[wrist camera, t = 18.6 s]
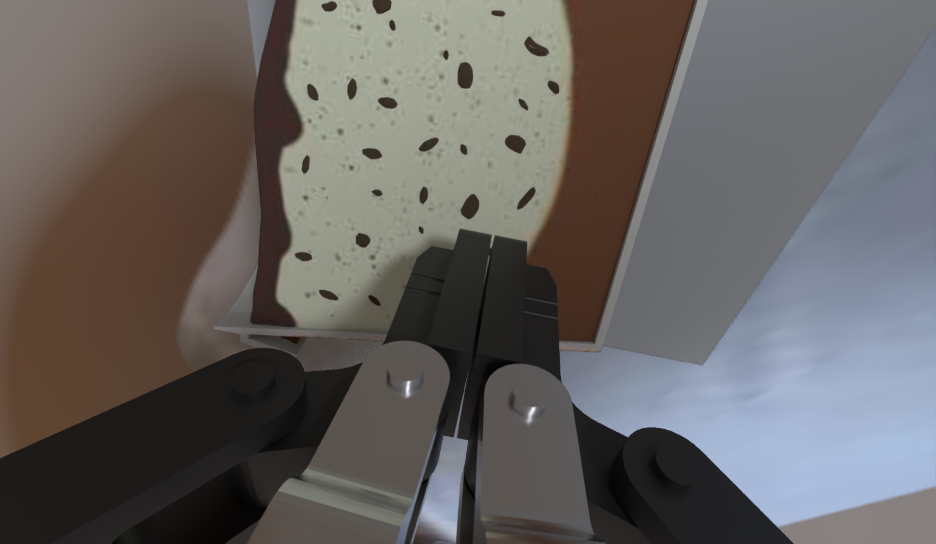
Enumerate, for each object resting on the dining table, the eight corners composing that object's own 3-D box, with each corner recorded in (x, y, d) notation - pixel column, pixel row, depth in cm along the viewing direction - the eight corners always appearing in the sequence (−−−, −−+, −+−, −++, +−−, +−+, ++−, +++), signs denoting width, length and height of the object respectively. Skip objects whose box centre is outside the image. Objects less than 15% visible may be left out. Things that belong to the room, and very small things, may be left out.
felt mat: (1005, -102, 11) (1025, -104, 11) (699, 356, 22) (702, 365, 21) (227, -243, 12) (214, -250, 11) (288, 274, 22) (283, 281, 22)
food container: (622, -16, 16) (322, -97, 14) (741, -109, 10) (248, -265, 8) (536, 318, 19) (284, 277, 17) (586, 400, 13) (212, 348, 11)
